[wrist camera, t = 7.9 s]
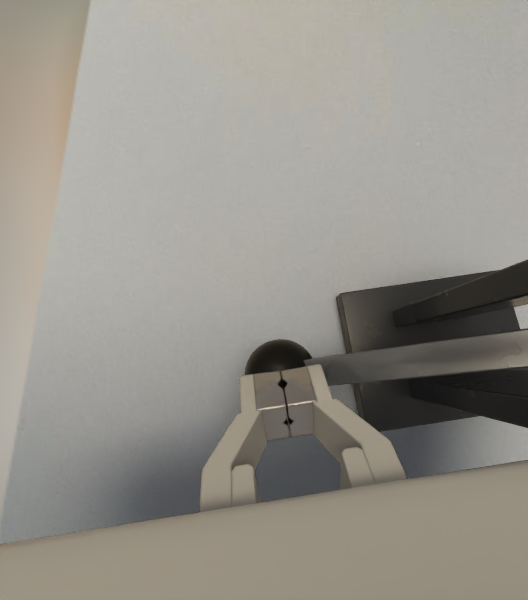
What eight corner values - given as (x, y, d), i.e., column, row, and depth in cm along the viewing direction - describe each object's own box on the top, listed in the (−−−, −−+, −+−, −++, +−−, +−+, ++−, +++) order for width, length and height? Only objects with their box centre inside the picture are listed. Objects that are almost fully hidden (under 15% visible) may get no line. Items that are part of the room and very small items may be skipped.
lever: (272, 407, 16) (235, 423, 13) (263, 343, 16) (225, 346, 14) (696, 382, 9) (802, 404, 6) (654, 273, 10) (734, 250, 7)
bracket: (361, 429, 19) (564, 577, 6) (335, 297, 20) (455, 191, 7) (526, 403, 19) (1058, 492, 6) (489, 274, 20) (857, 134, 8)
